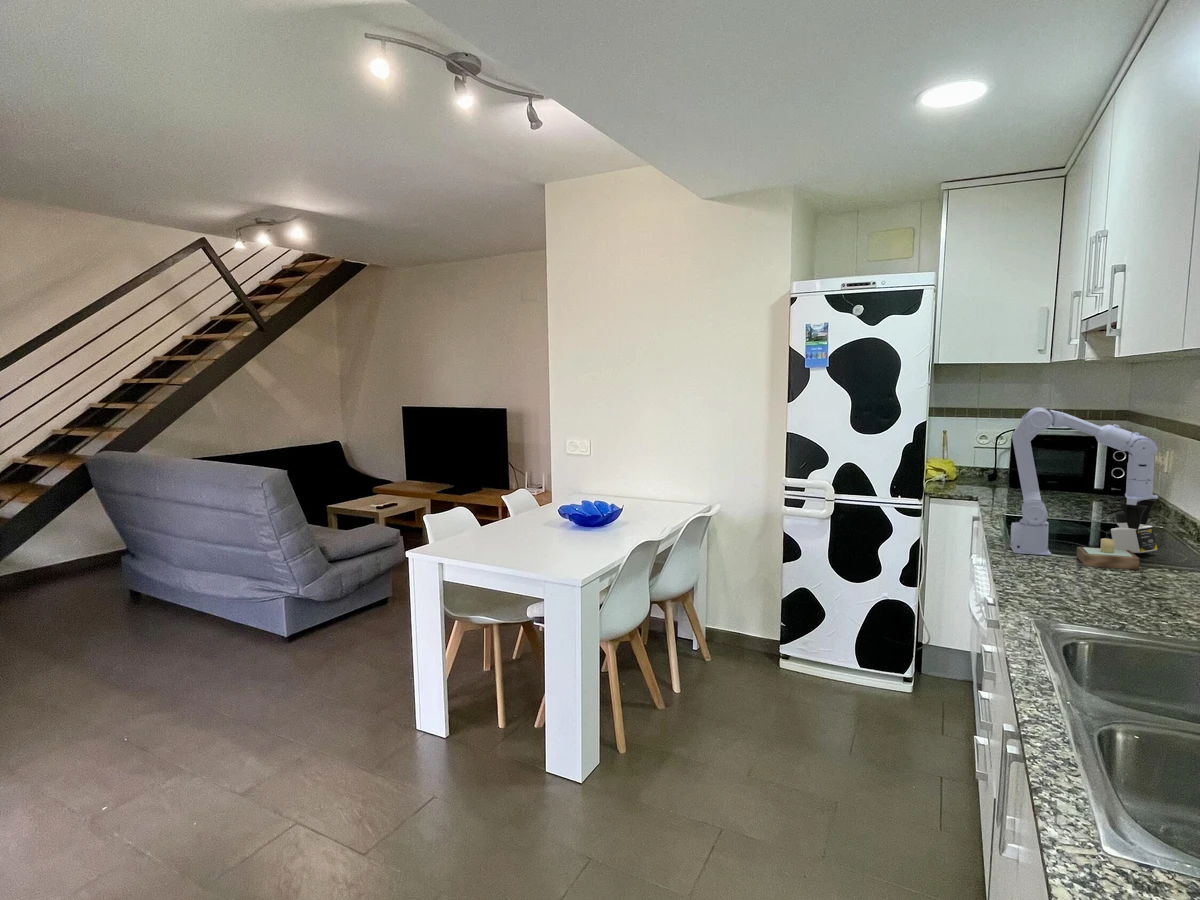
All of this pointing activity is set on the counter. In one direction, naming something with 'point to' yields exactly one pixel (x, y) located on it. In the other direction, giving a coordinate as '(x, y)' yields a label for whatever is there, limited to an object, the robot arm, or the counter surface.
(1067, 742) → the counter surface
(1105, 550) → the lid
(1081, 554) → the box
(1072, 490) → the counter surface
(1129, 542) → the medicine bottle
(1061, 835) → the counter surface
